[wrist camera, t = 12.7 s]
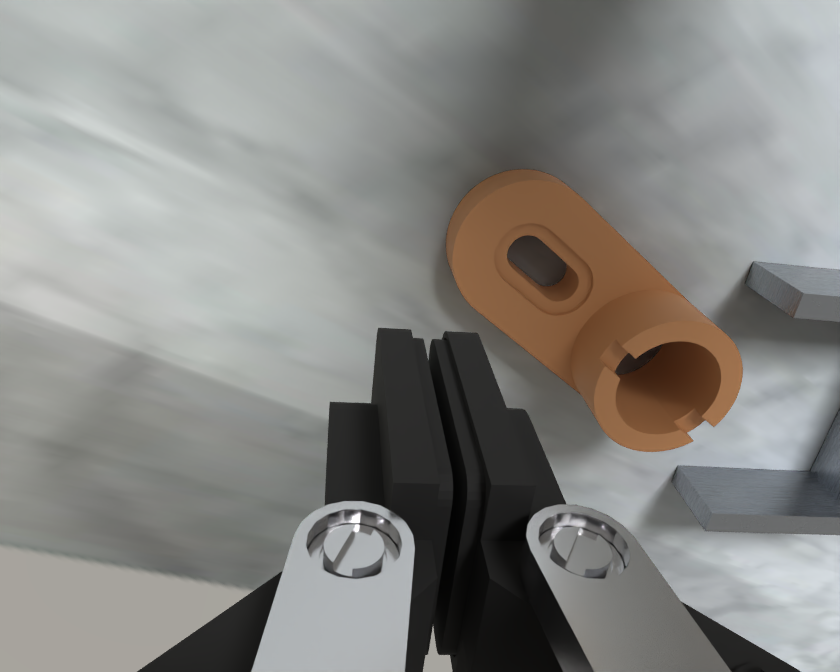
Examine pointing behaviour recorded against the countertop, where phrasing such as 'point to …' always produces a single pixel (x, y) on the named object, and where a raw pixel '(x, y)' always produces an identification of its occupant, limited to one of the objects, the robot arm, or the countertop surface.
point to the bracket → (593, 311)
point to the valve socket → (776, 489)
